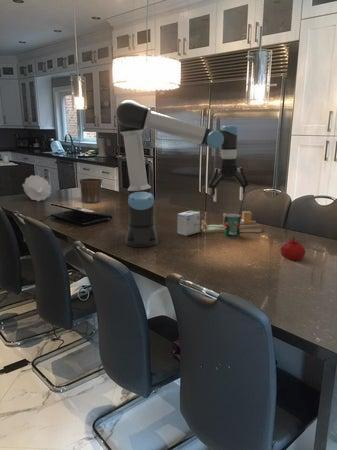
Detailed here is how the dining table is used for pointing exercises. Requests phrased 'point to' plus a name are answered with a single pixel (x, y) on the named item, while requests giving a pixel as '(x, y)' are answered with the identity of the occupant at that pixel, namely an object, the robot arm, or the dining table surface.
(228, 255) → the dining table surface
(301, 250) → the pomegranate
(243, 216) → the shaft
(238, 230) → the canned tomato
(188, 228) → the light bulb box
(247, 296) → the dining table surface
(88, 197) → the plant pot
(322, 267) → the dining table surface
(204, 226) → the base
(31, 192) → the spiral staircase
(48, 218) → the dining table surface
